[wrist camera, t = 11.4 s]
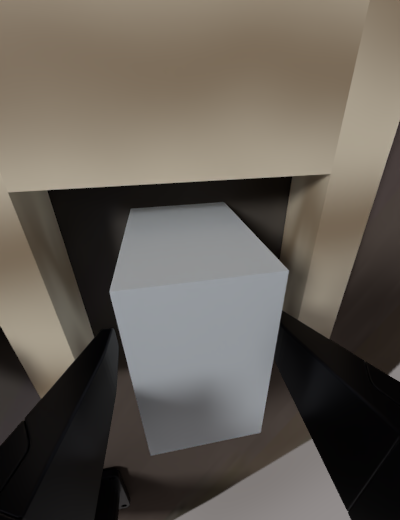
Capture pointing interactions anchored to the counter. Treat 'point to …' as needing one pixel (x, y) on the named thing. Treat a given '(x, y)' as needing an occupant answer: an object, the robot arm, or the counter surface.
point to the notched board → (188, 134)
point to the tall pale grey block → (197, 322)
